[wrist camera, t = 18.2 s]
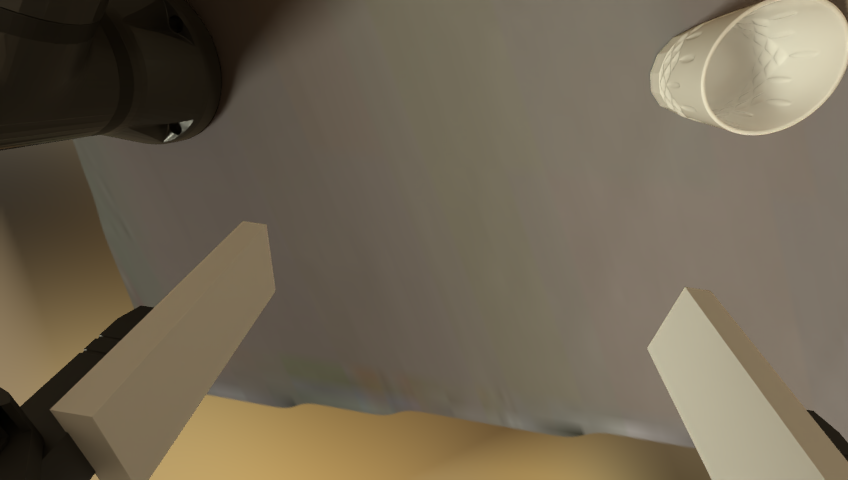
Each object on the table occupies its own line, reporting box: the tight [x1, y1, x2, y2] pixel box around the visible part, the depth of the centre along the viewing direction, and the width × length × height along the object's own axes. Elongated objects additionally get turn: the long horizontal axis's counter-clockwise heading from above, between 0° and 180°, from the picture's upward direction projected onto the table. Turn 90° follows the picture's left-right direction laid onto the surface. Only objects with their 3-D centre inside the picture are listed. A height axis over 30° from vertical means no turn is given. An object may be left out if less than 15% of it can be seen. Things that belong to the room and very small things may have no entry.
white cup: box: [650, 0, 848, 135], centre depth 28 cm, size 8×8×10 cm
